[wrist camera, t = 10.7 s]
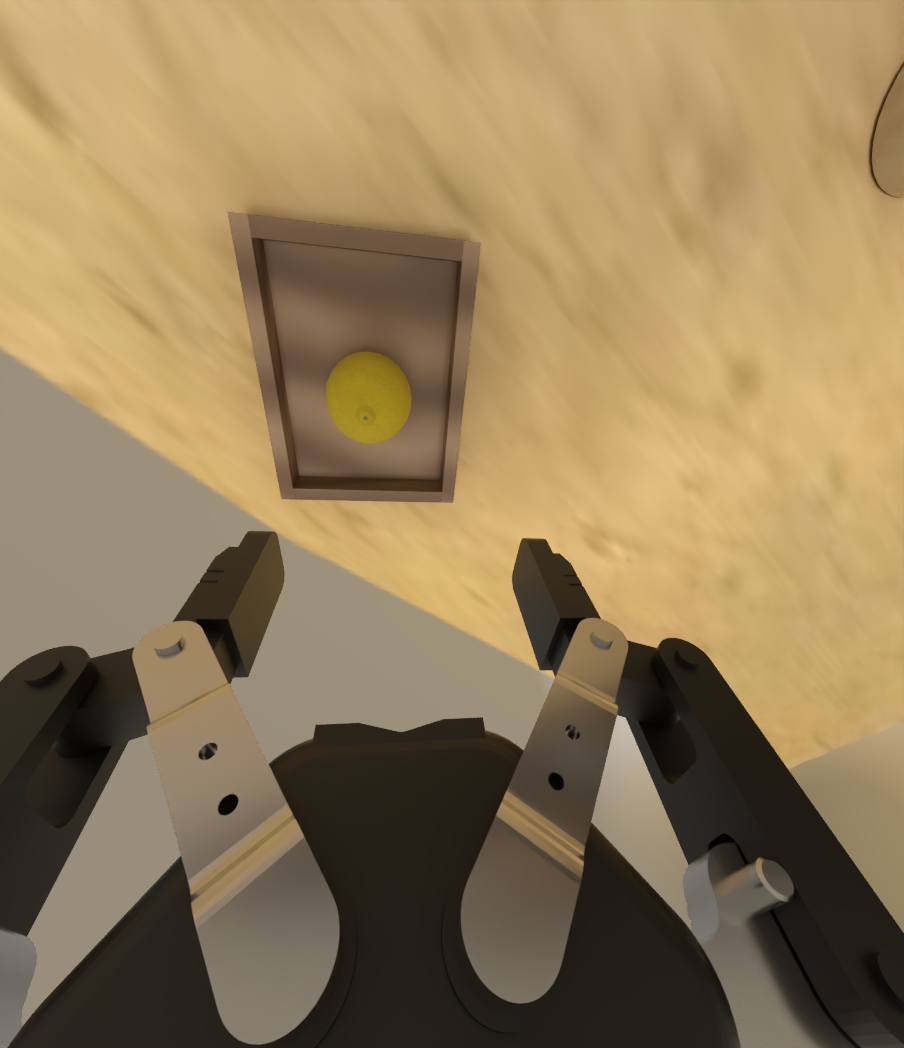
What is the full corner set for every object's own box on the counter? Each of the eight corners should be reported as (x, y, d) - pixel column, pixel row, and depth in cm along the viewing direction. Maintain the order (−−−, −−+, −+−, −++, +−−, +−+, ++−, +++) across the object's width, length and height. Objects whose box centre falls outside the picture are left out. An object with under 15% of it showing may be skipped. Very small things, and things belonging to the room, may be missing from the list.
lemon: (324, 398, 28) (301, 437, 22) (351, 326, 26) (335, 346, 19) (391, 430, 30) (389, 475, 24) (423, 367, 28) (430, 397, 21)
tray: (246, 217, 23) (227, 211, 20) (472, 245, 25) (480, 242, 22) (290, 481, 33) (281, 499, 30) (449, 486, 35) (452, 502, 32)
